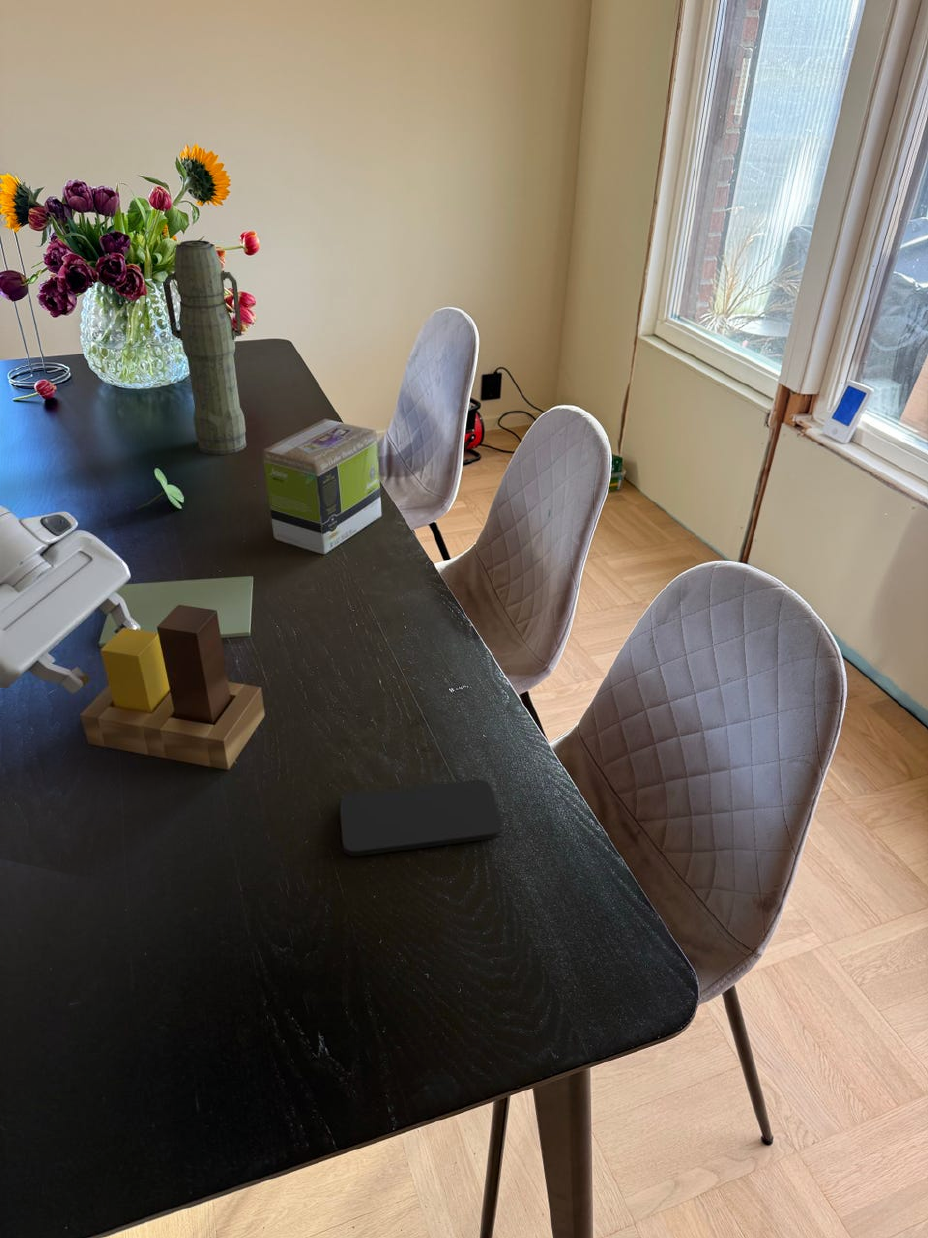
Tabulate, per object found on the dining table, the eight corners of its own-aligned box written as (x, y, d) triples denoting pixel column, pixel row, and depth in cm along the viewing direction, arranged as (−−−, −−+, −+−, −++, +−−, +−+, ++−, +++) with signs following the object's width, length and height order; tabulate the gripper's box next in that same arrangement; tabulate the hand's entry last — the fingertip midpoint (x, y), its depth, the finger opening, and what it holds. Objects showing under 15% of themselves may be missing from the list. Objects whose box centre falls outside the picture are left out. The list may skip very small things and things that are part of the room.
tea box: (332, 503, 140) (326, 415, 131) (382, 518, 136) (380, 428, 127) (271, 539, 129) (260, 446, 120) (324, 557, 125) (317, 462, 116)
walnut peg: (181, 744, 90) (156, 626, 82) (199, 719, 94) (178, 604, 86) (217, 751, 90) (196, 633, 81) (235, 725, 93) (216, 610, 85)
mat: (99, 647, 104) (98, 643, 104) (117, 588, 116) (116, 584, 116) (250, 636, 107) (249, 632, 107) (253, 579, 119) (252, 575, 119)
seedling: (162, 533, 140) (194, 510, 139) (137, 524, 132) (171, 500, 132) (140, 497, 141) (172, 474, 140) (114, 487, 133) (148, 462, 132)
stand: (88, 744, 90) (79, 714, 88) (134, 692, 97) (127, 664, 95) (228, 770, 87) (223, 741, 85) (265, 715, 95) (261, 687, 92)
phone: (338, 795, 84) (488, 777, 86) (339, 801, 84) (488, 783, 86) (343, 853, 77) (504, 832, 80) (343, 859, 78) (504, 839, 80)
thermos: (187, 439, 161) (155, 238, 141) (251, 434, 164) (228, 236, 145) (190, 457, 154) (157, 248, 134) (257, 451, 157) (233, 246, 138)
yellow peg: (121, 733, 92) (99, 649, 86) (142, 709, 95) (122, 627, 89) (157, 739, 91) (137, 656, 85) (176, 715, 94) (159, 633, 88)
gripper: (-64, 601, 74) (61, 707, 78) (77, 504, 91) (175, 595, 95) (-91, 636, 78) (30, 736, 81) (50, 536, 94) (145, 623, 98)
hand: (109, 659), depth 88 cm, fingers open, 8 cm apart
